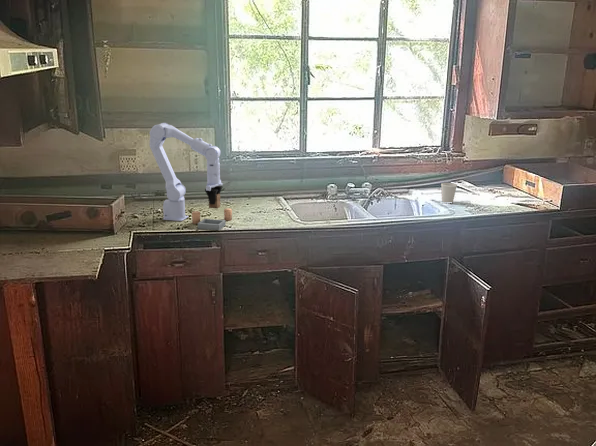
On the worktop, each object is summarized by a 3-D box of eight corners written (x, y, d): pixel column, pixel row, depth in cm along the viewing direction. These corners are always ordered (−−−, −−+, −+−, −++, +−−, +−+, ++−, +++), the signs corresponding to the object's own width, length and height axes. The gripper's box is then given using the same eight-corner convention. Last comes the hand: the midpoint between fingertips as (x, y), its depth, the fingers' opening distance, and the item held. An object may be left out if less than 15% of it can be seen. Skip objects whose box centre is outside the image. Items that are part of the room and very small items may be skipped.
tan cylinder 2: (223, 220, 263) (222, 209, 262) (225, 218, 267) (225, 208, 265) (230, 221, 263) (230, 210, 261) (233, 218, 266) (232, 208, 265)
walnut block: (209, 207, 260) (208, 195, 258) (212, 205, 263) (211, 193, 262) (217, 208, 259) (217, 195, 257) (220, 206, 263) (220, 193, 261)
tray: (197, 228, 250) (197, 223, 250) (204, 223, 258) (204, 218, 257) (219, 230, 248) (219, 225, 248) (225, 225, 256) (225, 220, 255)
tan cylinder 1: (191, 223, 258) (190, 212, 256) (194, 221, 261) (193, 210, 259) (198, 224, 257) (198, 213, 255) (201, 222, 260) (201, 211, 259)
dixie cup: (438, 203, 301) (440, 185, 298) (439, 200, 308) (441, 182, 306) (455, 205, 298) (456, 186, 296) (455, 201, 306) (457, 183, 303)
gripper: (216, 177, 249) (217, 207, 253) (227, 171, 263) (227, 199, 267) (201, 176, 251) (202, 206, 254) (212, 170, 264) (213, 198, 268)
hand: (214, 202), depth 261 cm, fingers closed on walnut block, 4 cm apart
